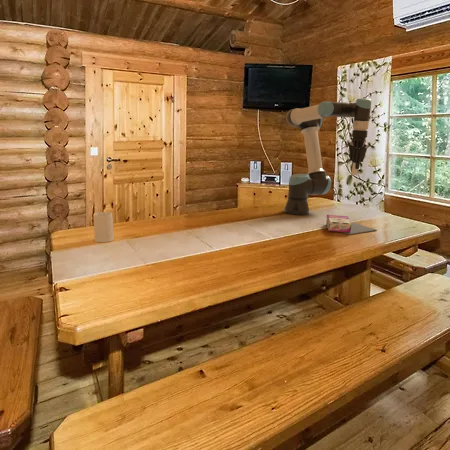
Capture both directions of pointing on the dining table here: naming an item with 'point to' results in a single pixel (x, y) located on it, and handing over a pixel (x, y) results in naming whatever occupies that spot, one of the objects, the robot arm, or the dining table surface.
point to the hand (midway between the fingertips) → (354, 174)
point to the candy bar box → (338, 223)
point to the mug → (103, 227)
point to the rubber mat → (358, 229)
